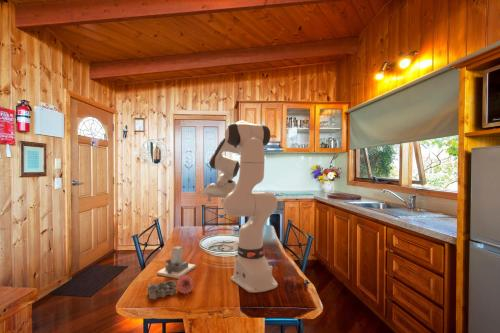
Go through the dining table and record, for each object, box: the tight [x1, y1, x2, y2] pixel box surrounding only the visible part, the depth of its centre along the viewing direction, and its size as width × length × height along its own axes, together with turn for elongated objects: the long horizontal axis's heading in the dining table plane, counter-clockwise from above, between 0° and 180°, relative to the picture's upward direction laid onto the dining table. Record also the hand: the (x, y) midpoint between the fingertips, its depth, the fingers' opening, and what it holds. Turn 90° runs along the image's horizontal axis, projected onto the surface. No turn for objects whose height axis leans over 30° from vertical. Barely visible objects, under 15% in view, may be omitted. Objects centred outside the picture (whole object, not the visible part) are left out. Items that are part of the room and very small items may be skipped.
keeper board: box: [156, 258, 197, 279], centre depth 126 cm, size 15×12×8 cm
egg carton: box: [146, 278, 178, 300], centre depth 105 cm, size 11×8×4 cm
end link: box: [171, 246, 184, 266], centre depth 127 cm, size 4×4×10 cm
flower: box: [175, 273, 195, 295], centre depth 107 cm, size 8×8×6 cm
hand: (215, 202), depth 152 cm, fingers open, 8 cm apart
